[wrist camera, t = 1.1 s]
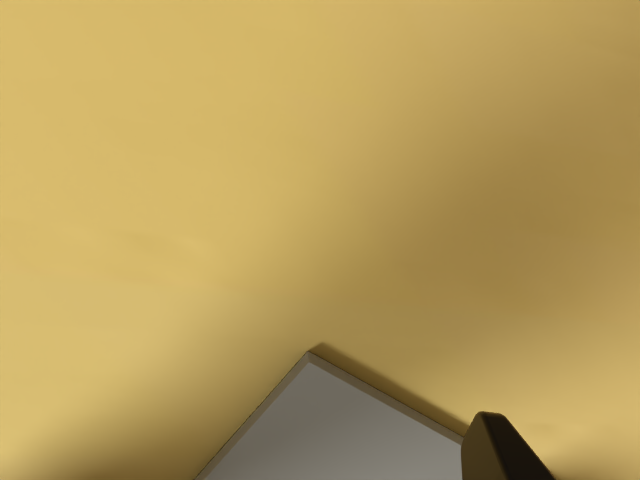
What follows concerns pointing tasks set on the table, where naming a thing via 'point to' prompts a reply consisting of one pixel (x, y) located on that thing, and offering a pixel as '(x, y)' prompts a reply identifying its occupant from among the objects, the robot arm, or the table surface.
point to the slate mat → (335, 434)
